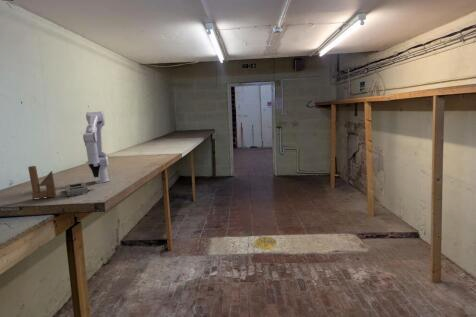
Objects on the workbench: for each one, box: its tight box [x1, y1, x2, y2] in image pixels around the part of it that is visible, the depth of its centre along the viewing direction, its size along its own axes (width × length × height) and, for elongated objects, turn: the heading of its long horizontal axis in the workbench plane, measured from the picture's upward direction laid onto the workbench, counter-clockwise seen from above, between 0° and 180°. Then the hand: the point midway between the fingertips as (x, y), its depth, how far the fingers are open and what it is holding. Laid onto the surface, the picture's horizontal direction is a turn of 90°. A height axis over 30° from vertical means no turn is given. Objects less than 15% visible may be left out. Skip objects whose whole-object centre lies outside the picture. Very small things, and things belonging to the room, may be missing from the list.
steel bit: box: [89, 167, 100, 182], centre depth 195 cm, size 4×4×7 cm
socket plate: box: [65, 181, 89, 197], centre depth 191 cm, size 16×10×3 cm, turn 31°
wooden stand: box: [27, 165, 57, 200], centre depth 181 cm, size 4×11×18 cm, turn 107°
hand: (95, 176), depth 195 cm, fingers closed on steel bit, 4 cm apart
